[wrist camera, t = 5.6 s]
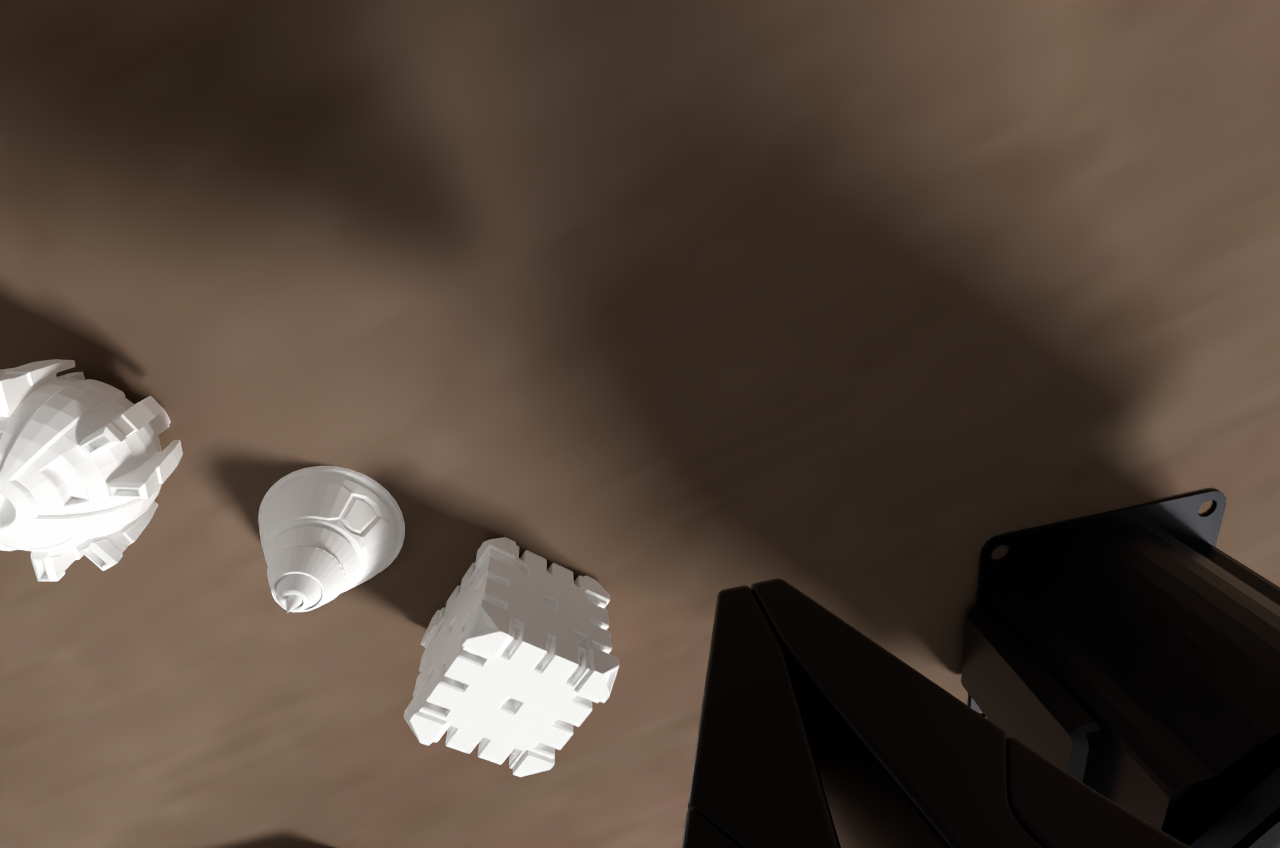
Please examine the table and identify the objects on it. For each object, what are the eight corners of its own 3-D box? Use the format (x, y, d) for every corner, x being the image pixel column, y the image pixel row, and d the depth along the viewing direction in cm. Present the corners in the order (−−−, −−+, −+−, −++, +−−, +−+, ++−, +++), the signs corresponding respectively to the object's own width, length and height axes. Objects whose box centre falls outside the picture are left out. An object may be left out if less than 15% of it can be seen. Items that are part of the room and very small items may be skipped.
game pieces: (610, 575, 16) (625, 677, 13) (537, 671, 17) (535, 787, 14) (46, 305, 12) (-120, 363, 9) (-10, 450, 13) (-176, 546, 10)
